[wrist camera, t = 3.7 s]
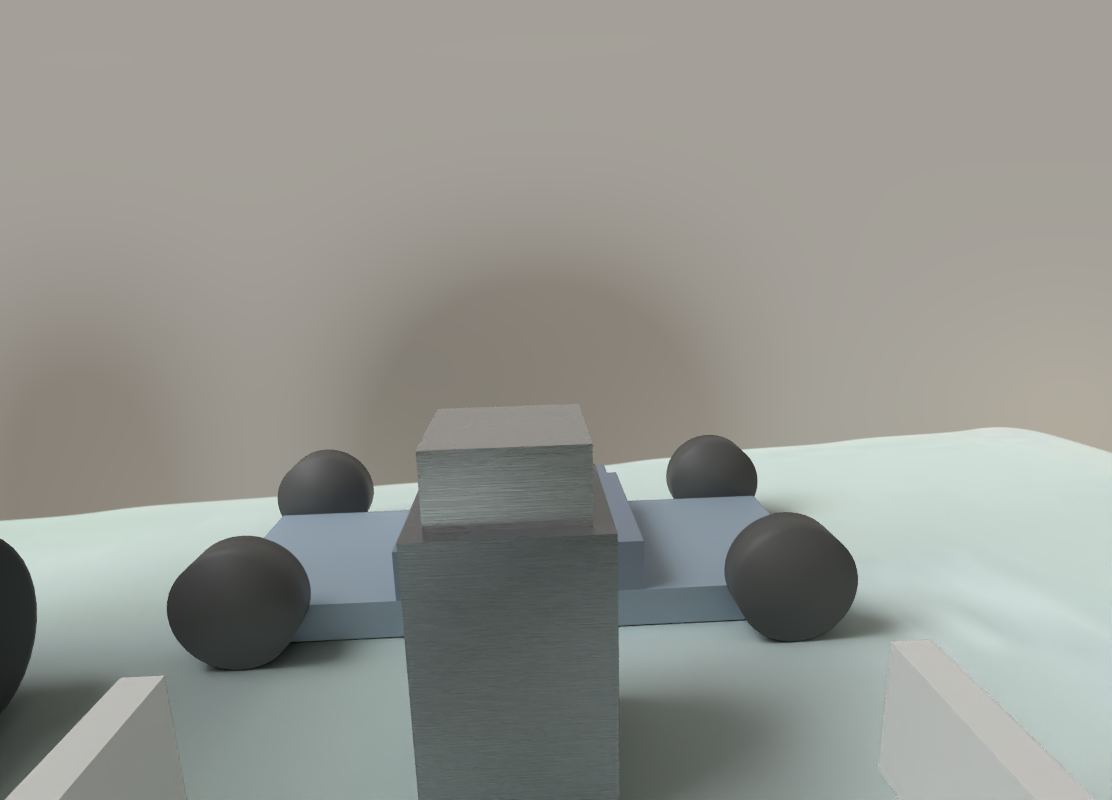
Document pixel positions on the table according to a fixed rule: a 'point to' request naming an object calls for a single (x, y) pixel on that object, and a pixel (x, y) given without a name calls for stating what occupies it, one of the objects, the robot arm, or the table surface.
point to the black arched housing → (15, 621)
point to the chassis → (643, 562)
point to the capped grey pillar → (511, 609)
